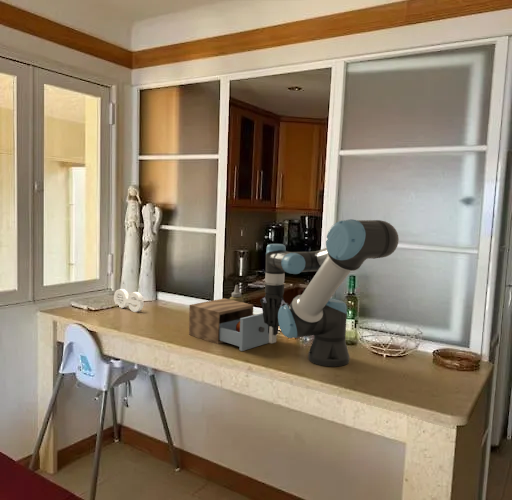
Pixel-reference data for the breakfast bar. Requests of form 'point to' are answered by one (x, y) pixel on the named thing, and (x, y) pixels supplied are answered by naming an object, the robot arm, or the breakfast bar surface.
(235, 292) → the squeeze bottle
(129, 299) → the contact lens case
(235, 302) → the wooden drawer cabinet
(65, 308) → the breakfast bar surface
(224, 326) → the grey drawer
